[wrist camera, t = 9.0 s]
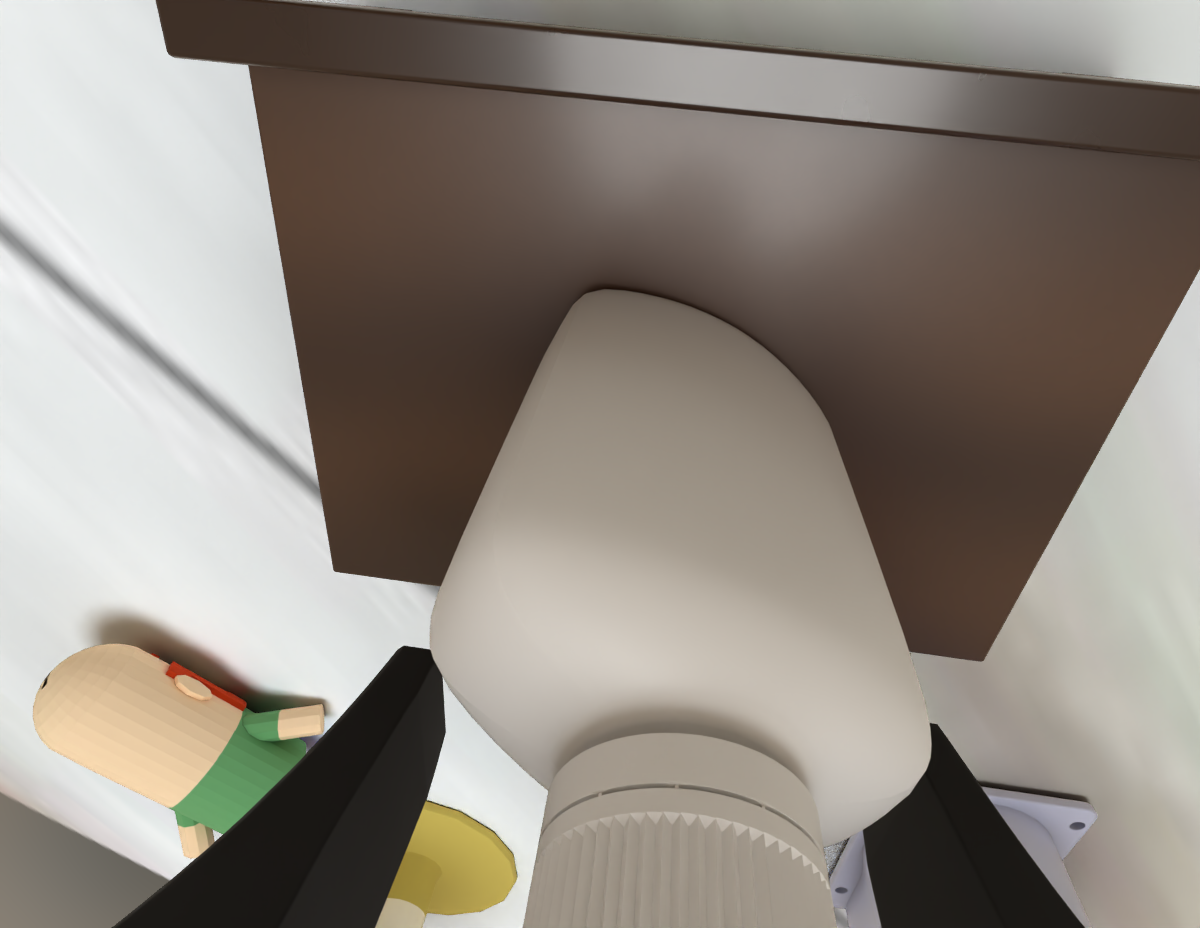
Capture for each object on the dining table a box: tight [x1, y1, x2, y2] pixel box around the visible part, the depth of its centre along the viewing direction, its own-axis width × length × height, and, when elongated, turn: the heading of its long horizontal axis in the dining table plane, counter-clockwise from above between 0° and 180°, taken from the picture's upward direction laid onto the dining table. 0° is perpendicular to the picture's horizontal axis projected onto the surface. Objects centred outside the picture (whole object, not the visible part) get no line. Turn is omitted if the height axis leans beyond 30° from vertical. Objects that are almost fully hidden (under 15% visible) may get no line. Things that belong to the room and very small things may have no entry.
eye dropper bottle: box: [430, 289, 932, 928], centre depth 8 cm, size 4×6×12 cm
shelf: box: [156, 0, 1200, 662], centre depth 15 cm, size 12×16×7 cm
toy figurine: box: [33, 644, 324, 859], centre depth 27 cm, size 8×4×12 cm
